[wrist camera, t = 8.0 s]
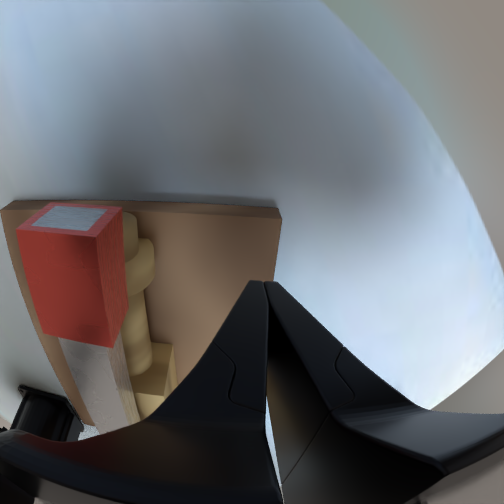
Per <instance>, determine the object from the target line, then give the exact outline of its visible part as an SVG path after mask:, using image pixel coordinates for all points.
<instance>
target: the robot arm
mask: <svg viewBox="0 0 504 504" xmlns="http://www.w3.org/2000/svg"><path fill="white" fill-rule="evenodd" d="M18 390H19V392H20V393H21V395H22V396H23V400H22V402H21V404H20V406H19V409H18V411H17V413H16V416H15V418H14V420H13V423H12V425H11V428H10V430H7V429H6V428H5V427H3V428H0V504H283V498H284V503H285V504H504V414H472V413H452V412H439V411H431V410H427V409H425V408H422V407H420V406H418V405H416V404H415V403H413V402H412V401H410V400H409V399H408V398H406V397H405V396H404V395H402V394H401V393H400V392H398V391H397V390H396V389H394V388H393V387H392V386H391V385H389V384H388V383H387V382H385V381H384V380H383V379H381V378H380V377H379V376H378V375H376V374H375V373H374V372H373V371H372V370H370V369H369V368H368V367H367V366H365V365H364V364H363V363H362V362H361V361H360V360H359V359H358V358H357V357H355V356H354V355H353V354H352V353H351V352H350V351H349V350H348V349H347V348H346V347H343V344H342V343H341V342H340V341H338V340H337V339H336V338H335V337H334V336H333V335H332V334H331V333H330V332H329V331H328V330H327V329H326V328H325V327H324V326H323V325H322V324H321V323H320V322H319V321H318V320H317V319H316V318H315V317H313V316H312V315H311V314H310V313H309V312H308V311H307V310H306V309H305V308H304V307H303V306H302V305H301V304H300V303H299V302H298V301H297V300H296V299H295V298H294V297H293V296H292V295H291V294H290V293H289V292H287V291H286V290H285V289H284V288H283V287H282V286H281V285H280V284H279V283H278V282H273V281H265V282H264V283H263V281H259V280H249V281H248V283H247V285H246V286H245V288H244V289H243V291H242V293H241V294H240V296H239V298H238V299H237V301H236V303H235V304H234V306H233V307H232V309H231V311H230V312H229V314H228V316H227V317H226V319H225V320H224V322H223V324H222V325H221V327H220V329H219V330H218V332H217V333H216V335H215V337H214V338H213V340H212V342H211V343H210V344H209V346H208V348H207V349H206V351H205V352H204V354H203V355H202V357H201V358H200V360H199V361H198V363H197V364H196V365H195V366H194V368H193V369H192V370H191V371H190V372H189V374H188V375H187V376H186V377H185V378H184V379H183V380H182V382H181V383H180V384H179V385H178V386H177V387H176V388H175V389H174V390H173V391H172V393H171V394H170V395H169V396H168V397H167V398H166V399H165V400H164V401H163V402H162V403H161V404H160V406H159V407H158V408H157V409H156V410H155V411H154V412H153V413H151V414H150V415H149V416H148V417H146V418H145V419H143V420H141V421H139V422H137V423H134V424H131V425H128V426H125V427H122V428H119V429H116V430H113V431H110V432H107V433H104V434H101V435H97V436H94V437H90V438H87V439H84V440H79V441H78V438H79V434H80V432H83V431H84V427H83V426H82V424H81V422H80V421H79V419H78V418H77V416H76V415H75V413H74V411H73V410H72V408H71V406H70V405H69V403H68V401H67V400H66V399H64V398H62V397H59V396H55V395H51V394H48V393H44V392H41V391H37V390H34V389H31V388H28V387H24V386H21V385H19V387H18ZM266 395H267V401H268V407H269V413H270V420H271V426H272V432H273V438H274V444H275V450H276V456H277V462H278V468H279V473H280V479H281V484H282V492H283V498H282V494H281V490H280V487H279V483H278V479H277V475H276V472H275V468H274V464H273V460H272V456H271V453H270V449H269V445H268V441H267V437H266V429H265V418H266V416H265V414H266Z"/></svg>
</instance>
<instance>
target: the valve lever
mask: <svg viewBox="0 0 504 504" xmlns="http://www.w3.org/2000/svg"><path fill="white" fill-rule="evenodd" d="M16 233H17V239H18V244H19V249H20V254H21V258H22V263H23V267H24V271H25V275H26V279H27V283H28V286H29V290H30V293H31V297H32V300H33V304H34V307H35V310H36V313H37V316H38V319H39V322H40V325H41V328H42V331H43V334H47V335H51V336H56V337H58V339H59V342H60V345H61V348H62V350H63V353H64V356H65V359H66V361H67V364H68V366H69V369H70V371H71V374H72V376H73V379H74V381H75V383H76V386H77V388H78V390H79V393H80V395H81V397H82V399H83V401H84V404H85V406H86V408H87V410H88V412H89V414H90V416H91V418H92V420H93V422H94V424H95V426H96V428H97V430H98V432H99V434H100V435H101V434H104V433H107V432H110V431H113V430H116V429H119V428H122V427H125V426H128V425H131V424H134V423H137V422H139V421H140V418H139V414H138V410H137V406H136V403H135V399H134V395H133V390H132V386H131V382H130V378H129V373H128V369H127V364H126V359H125V354H124V349H123V343H122V338H121V332H120V329H121V326H122V323H123V321H124V318H125V316H126V314H127V311H128V309H129V303H128V294H127V283H126V272H125V258H124V241H123V213H122V207H116V206H103V205H88V204H73V203H57V202H50V203H49V204H48V205H46V206H45V207H43V208H42V209H41V210H39V211H38V212H37V213H35V214H34V215H33V216H32V217H30V218H29V219H28V220H26V221H25V222H24V223H23V224H21V225H20V226H19V227H18V228H16Z"/></svg>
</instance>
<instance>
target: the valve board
mask: <svg viewBox="0 0 504 504" xmlns="http://www.w3.org/2000/svg"><path fill="white" fill-rule="evenodd" d="M50 202H57V203H73V204H88V205H103V206H116V207H122V213H123V241H124V258H125V272H126V283H127V294H128V303H129V309H128V311H127V314H126V316H125V318H124V321H123V323H122V326H121V329H120V332H121V338H122V343H123V349H124V354H125V359H126V364H127V369H128V373H129V378H130V382H131V386H132V390H133V395H134V399H135V403H136V406H137V410H138V414H139V418H140V421H141V420H143V419H145V418H146V417H148V416H149V415H150V414H151V413H153V412H154V411H155V410H156V409H157V408H158V407H159V406H160V404H161V403H162V402H163V401H164V400H165V399H166V398H167V397H168V396H169V395H170V394H171V393H172V391H173V390H174V389H175V388H176V387H177V386H178V385H179V384H180V383H181V382H182V380H183V379H184V378H185V377H186V376H187V375H188V374H189V372H190V371H191V370H192V369H193V368H194V366H195V365H196V364H197V363H198V361H199V360H200V358H201V357H202V355H203V354H204V352H205V351H206V349H207V348H208V346H209V344H210V343H211V342H212V340H213V338H214V337H215V335H216V333H217V332H218V330H219V329H220V327H221V325H222V324H223V322H224V320H225V319H226V317H227V316H228V314H229V312H230V311H231V309H232V307H233V306H234V304H235V303H236V301H237V299H238V298H239V296H240V294H241V293H242V291H243V289H244V288H245V286H246V285H247V283H248V281H249V280H259V281H263V283H264V282H265V281H273V278H274V272H275V265H276V258H277V252H278V245H279V238H280V231H281V224H282V218H281V215H280V212H279V210H278V208H268V207H254V206H239V205H222V204H204V203H183V202H156V201H118V200H32V201H13V202H11V203H10V204H8V205H7V206H5V207H4V208H2V209H1V210H0V213H1V218H2V223H3V228H4V232H5V237H6V241H7V245H8V249H9V253H10V256H11V260H12V264H13V267H14V270H15V274H16V277H17V280H18V283H19V287H20V290H21V293H22V295H23V298H24V301H25V304H26V307H27V309H28V312H29V315H30V317H31V320H32V322H33V325H34V327H35V330H36V332H37V335H38V337H39V339H40V342H41V344H42V346H43V348H44V350H45V353H46V355H47V357H48V359H49V361H50V363H51V365H52V367H53V369H54V371H55V373H56V375H57V377H58V379H59V381H60V383H61V385H62V387H63V389H64V390H65V392H66V394H67V396H68V398H69V399H70V401H71V403H72V404H73V406H74V408H75V410H76V411H77V413H78V415H79V416H80V418H81V419H82V421H83V423H84V424H87V425H91V426H95V424H94V422H93V420H92V418H91V416H90V414H89V412H88V410H87V408H86V406H85V404H84V401H83V399H82V397H81V395H80V393H79V390H78V388H77V386H76V383H75V381H74V379H73V376H72V374H71V371H70V369H69V366H68V364H67V361H66V359H65V356H64V353H63V350H62V348H61V345H60V342H59V339H58V337H56V336H51V335H47V334H43V331H42V328H41V325H40V322H39V319H38V316H37V313H36V310H35V307H34V304H33V300H32V297H31V293H30V290H29V286H28V283H27V279H26V275H25V271H24V267H23V263H22V258H21V254H20V249H19V244H18V239H17V233H16V228H18V227H19V226H20V225H21V224H23V223H24V222H25V221H26V220H28V219H29V218H30V217H32V216H33V215H34V214H35V213H37V212H38V211H39V210H41V209H42V208H43V207H45V206H46V205H48V204H49V203H50ZM95 427H96V426H95Z"/></svg>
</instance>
